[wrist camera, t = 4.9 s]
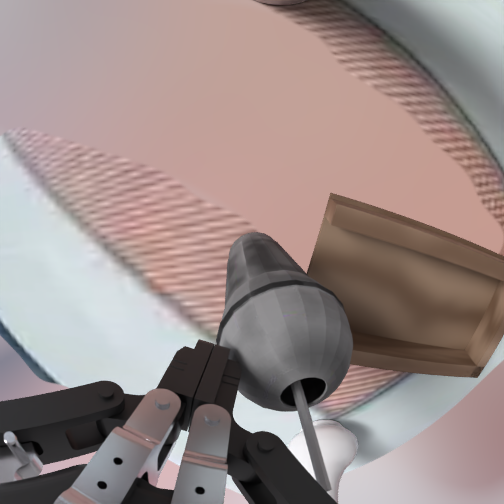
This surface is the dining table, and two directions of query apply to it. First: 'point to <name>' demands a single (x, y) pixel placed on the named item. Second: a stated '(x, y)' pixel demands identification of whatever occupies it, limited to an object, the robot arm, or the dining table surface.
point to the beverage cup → (283, 334)
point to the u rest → (410, 290)
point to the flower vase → (327, 450)
